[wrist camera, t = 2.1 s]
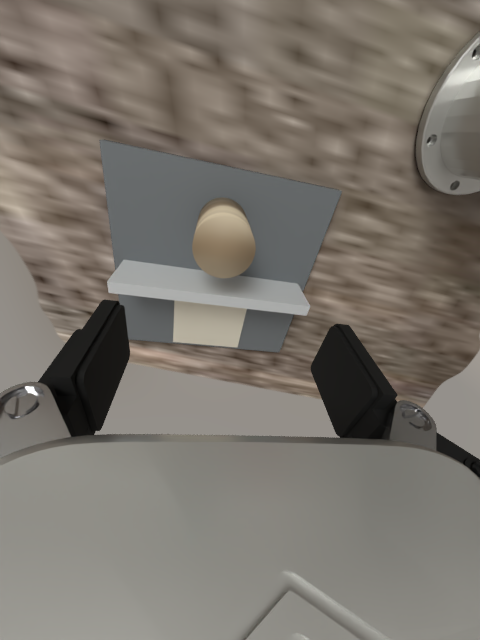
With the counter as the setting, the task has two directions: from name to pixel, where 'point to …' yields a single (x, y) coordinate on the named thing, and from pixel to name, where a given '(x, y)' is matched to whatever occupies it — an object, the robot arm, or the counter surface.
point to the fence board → (177, 256)
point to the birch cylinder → (223, 239)
